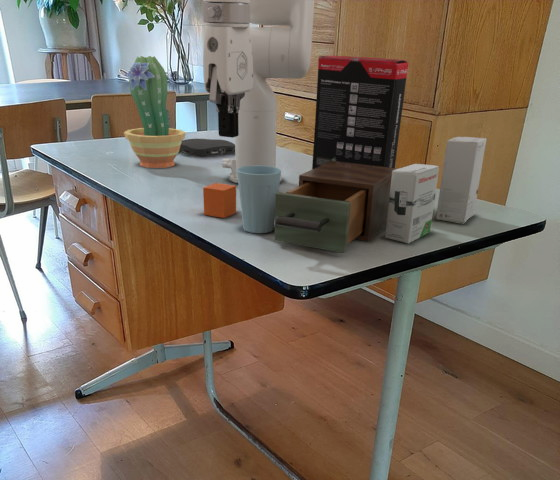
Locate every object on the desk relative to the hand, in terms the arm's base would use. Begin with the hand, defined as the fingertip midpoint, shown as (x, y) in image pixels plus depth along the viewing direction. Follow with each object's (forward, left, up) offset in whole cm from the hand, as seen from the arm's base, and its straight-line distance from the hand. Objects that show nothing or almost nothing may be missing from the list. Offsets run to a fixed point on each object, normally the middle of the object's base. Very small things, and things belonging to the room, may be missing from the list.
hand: (228, 136), depth 106 cm
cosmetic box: (+38, +23, -15) cm, 47 cm away
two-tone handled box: (+21, -6, -14) cm, 26 cm away
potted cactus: (-41, +33, -15) cm, 55 cm away
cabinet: (+21, +7, -15) cm, 27 cm away
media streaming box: (-40, +55, -15) cm, 70 cm away
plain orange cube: (-3, +1, -15) cm, 15 cm away
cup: (+8, -4, -15) cm, 17 cm away
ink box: (+33, +6, -15) cm, 37 cm away
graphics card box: (+15, +26, -15) cm, 34 cm away
